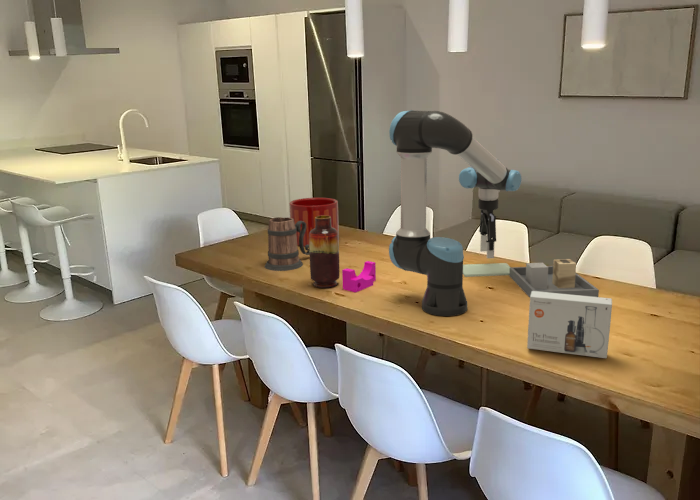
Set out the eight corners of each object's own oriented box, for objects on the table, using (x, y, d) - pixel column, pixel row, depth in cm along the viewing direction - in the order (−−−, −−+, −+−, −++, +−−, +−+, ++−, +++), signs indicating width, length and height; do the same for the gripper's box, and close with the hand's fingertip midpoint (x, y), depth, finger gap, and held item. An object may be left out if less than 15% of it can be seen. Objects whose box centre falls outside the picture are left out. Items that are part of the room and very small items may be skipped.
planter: (320, 251, 287) (319, 207, 282) (281, 245, 299) (279, 203, 294) (348, 240, 305) (347, 199, 300) (310, 235, 318) (308, 196, 313)
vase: (307, 282, 242) (304, 215, 235) (334, 278, 245) (332, 212, 239) (315, 290, 232) (313, 221, 225) (344, 286, 235) (342, 218, 229)
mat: (516, 275, 244) (516, 272, 243) (465, 277, 243) (465, 274, 243) (506, 265, 257) (506, 263, 257) (457, 267, 256) (457, 264, 256)
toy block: (355, 292, 229) (355, 272, 227) (342, 289, 233) (342, 269, 231) (380, 282, 240) (380, 263, 238) (368, 279, 244) (367, 260, 242)
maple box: (574, 287, 225) (576, 263, 223) (558, 288, 225) (559, 263, 223) (568, 282, 231) (570, 258, 229) (552, 283, 231) (553, 259, 229)
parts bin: (598, 299, 214) (598, 289, 213) (534, 302, 213) (534, 292, 213) (565, 274, 243) (566, 265, 242) (509, 276, 242) (509, 267, 242)
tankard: (279, 273, 253) (276, 225, 248) (255, 266, 266) (252, 219, 261) (324, 262, 268) (322, 216, 263) (300, 255, 281) (298, 211, 276)
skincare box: (526, 349, 176) (529, 295, 172) (528, 342, 181) (531, 289, 177) (607, 359, 168) (612, 303, 164) (607, 351, 173) (612, 297, 169)
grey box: (547, 288, 225) (548, 267, 223) (530, 289, 225) (531, 267, 223) (541, 283, 231) (542, 262, 229) (525, 284, 231) (526, 263, 229)
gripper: (506, 203, 232) (504, 261, 238) (490, 193, 253) (489, 247, 259) (485, 204, 232) (484, 262, 238) (472, 194, 253) (471, 247, 259)
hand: (487, 254), depth 248 cm, fingers open, 10 cm apart
